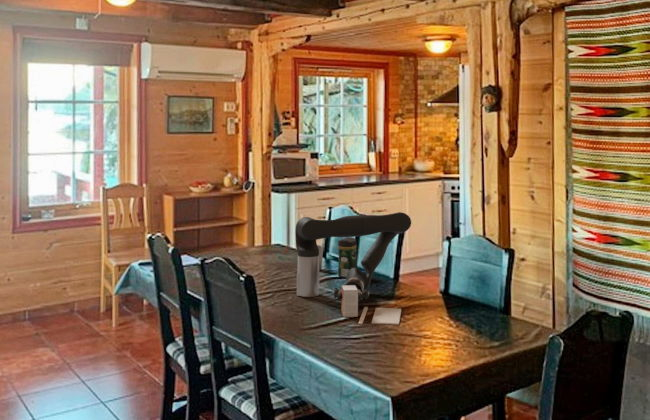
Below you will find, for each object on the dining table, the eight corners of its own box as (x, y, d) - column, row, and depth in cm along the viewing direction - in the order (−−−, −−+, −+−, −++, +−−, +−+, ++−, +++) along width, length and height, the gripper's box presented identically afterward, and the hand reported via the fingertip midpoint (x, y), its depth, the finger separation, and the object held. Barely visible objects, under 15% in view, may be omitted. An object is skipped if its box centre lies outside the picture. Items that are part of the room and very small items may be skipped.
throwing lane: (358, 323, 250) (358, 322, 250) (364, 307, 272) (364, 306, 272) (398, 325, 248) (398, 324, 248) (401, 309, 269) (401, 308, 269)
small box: (341, 311, 266) (341, 285, 265) (355, 311, 267) (355, 284, 265) (343, 317, 258) (343, 290, 257) (358, 316, 259) (358, 289, 258)
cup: (307, 270, 341) (307, 246, 339) (313, 267, 347) (313, 244, 345) (319, 271, 338) (319, 247, 336) (326, 269, 343) (325, 245, 342)
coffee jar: (344, 273, 334) (344, 235, 331) (359, 274, 330) (359, 237, 328) (335, 277, 325) (335, 238, 323) (350, 278, 322) (350, 240, 319)
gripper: (336, 278, 277) (330, 288, 261) (371, 279, 275) (367, 289, 259) (336, 296, 278) (330, 307, 262) (371, 297, 276) (367, 308, 260)
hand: (348, 298), depth 261 cm, fingers closed on small box, 6 cm apart
